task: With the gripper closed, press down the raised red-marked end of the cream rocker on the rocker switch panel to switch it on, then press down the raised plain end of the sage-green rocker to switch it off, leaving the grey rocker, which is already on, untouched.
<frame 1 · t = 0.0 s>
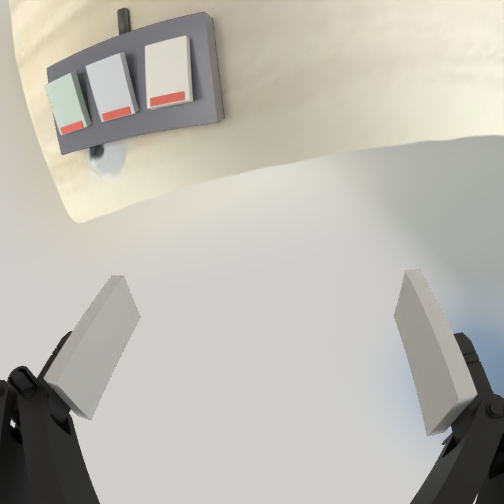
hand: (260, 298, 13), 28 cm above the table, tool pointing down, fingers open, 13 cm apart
grey rocker: (111, 87, 28), point 6 cm above the table, hinge at 12.0°
sage rocker: (66, 104, 29), point 6 cm above the table, hinge at 12.0°
cream rocker: (167, 71, 27), point 6 cm above the table, hinge at -12.0°
rocker switch panel: (132, 85, 33), on the table
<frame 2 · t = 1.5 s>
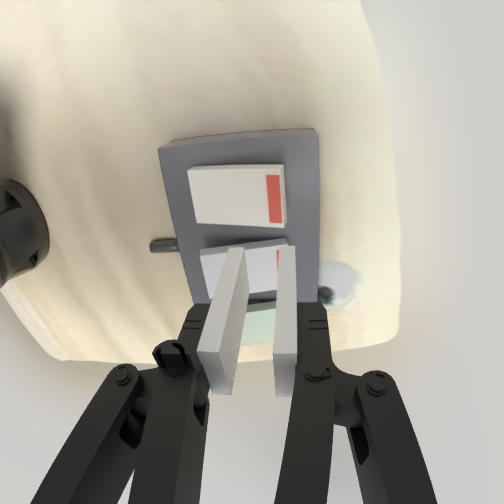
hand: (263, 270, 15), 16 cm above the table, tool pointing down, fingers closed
grey rocker: (246, 269, 29), point 6 cm above the table, hinge at 12.0°
sage rocker: (253, 325, 32), point 6 cm above the table, hinge at 12.0°
cream rocker: (236, 195, 25), point 6 cm above the table, hinge at -12.0°
rocker switch panel: (252, 240, 33), on the table
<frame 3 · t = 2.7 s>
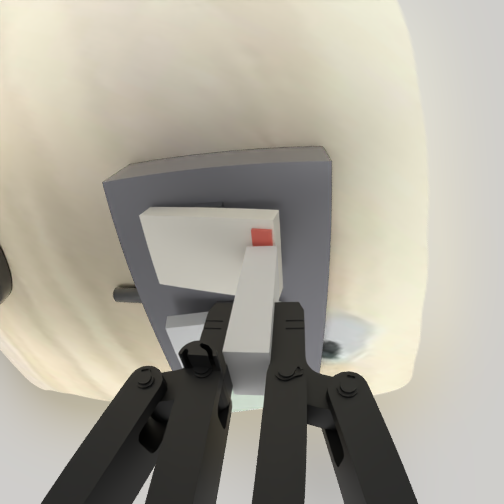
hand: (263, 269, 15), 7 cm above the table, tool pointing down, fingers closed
grey rocker: (229, 341, 21), point 6 cm above the table, hinge at 12.0°
sage rocker: (241, 393, 25), point 6 cm above the table, hinge at 12.0°
cream rocker: (209, 252, 17), point 6 cm above the table, hinge at -12.0°, touching gripper
rocker switch panel: (238, 291, 26), on the table
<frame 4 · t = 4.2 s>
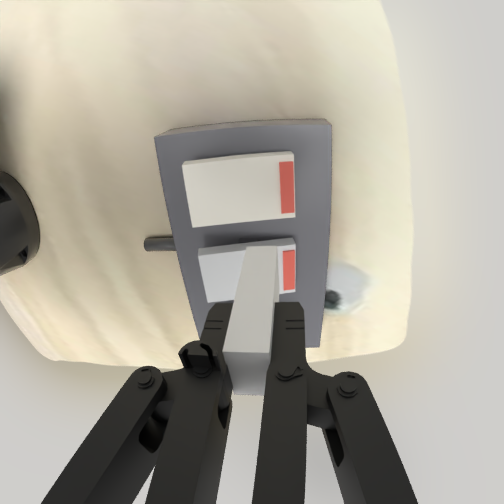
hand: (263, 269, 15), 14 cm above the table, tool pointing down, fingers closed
grey rocker: (248, 271, 26), point 6 cm above the table, hinge at 12.0°
cream rocker: (240, 189, 22), point 6 cm above the table, hinge at 10.1°
rocker switch panel: (255, 239, 31), on the table
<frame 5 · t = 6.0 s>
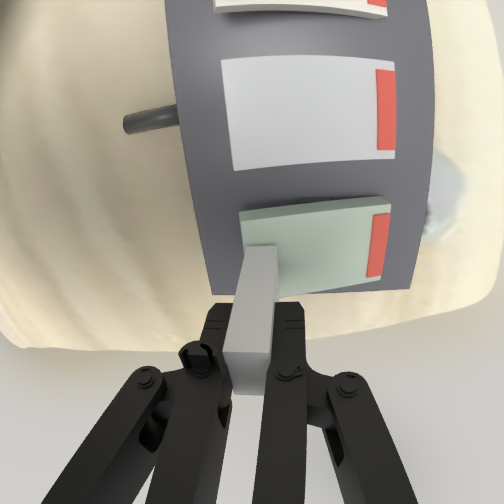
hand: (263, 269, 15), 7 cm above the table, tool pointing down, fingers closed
grey rocker: (315, 108, 12), point 6 cm above the table, hinge at 12.0°
sage rocker: (318, 249, 16), point 6 cm above the table, hinge at 12.0°, touching gripper
rocker switch panel: (306, 101, 17), on the table
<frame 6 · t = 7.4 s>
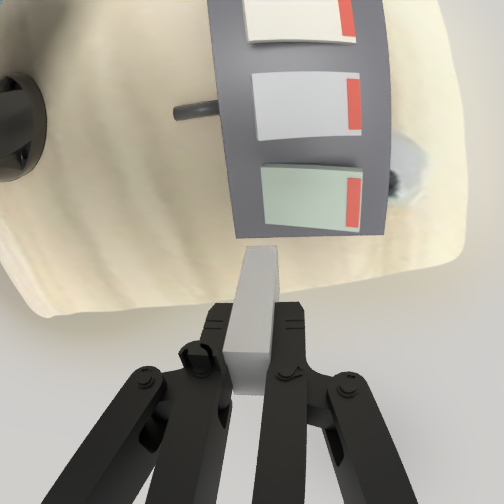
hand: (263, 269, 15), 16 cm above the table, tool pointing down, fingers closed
grey rocker: (308, 103, 20), point 6 cm above the table, hinge at 12.0°
sage rocker: (312, 197, 23), point 6 cm above the table, hinge at -14.7°
cream rocker: (300, 11, 16), point 6 cm above the table, hinge at 13.9°
rocker switch panel: (304, 100, 24), on the table
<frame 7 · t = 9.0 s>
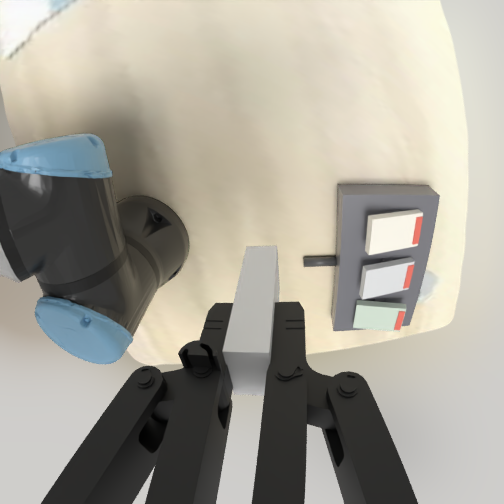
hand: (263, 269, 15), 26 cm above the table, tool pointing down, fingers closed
grey rocker: (387, 278, 39), point 6 cm above the table, hinge at 12.0°
sage rocker: (379, 316, 43), point 6 cm above the table, hinge at -12.1°
cream rocker: (395, 231, 35), point 6 cm above the table, hinge at 13.5°
rocker switch panel: (378, 257, 44), on the table
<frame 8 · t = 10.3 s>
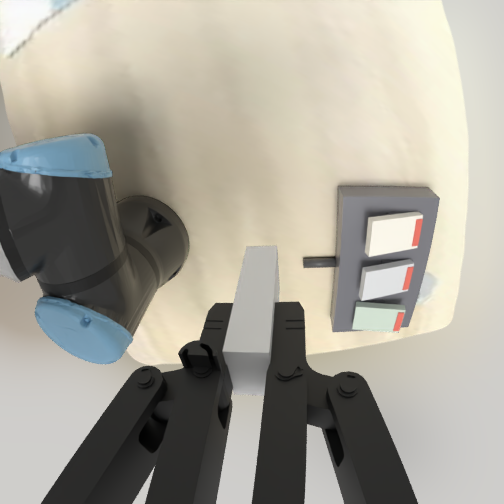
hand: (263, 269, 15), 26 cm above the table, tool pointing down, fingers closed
grey rocker: (387, 280, 39), point 6 cm above the table, hinge at 12.0°
sage rocker: (378, 318, 43), point 6 cm above the table, hinge at -10.9°
cream rocker: (395, 233, 36), point 6 cm above the table, hinge at 13.4°
rocker switch panel: (377, 258, 44), on the table
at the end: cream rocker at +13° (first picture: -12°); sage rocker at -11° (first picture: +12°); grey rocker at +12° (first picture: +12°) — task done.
